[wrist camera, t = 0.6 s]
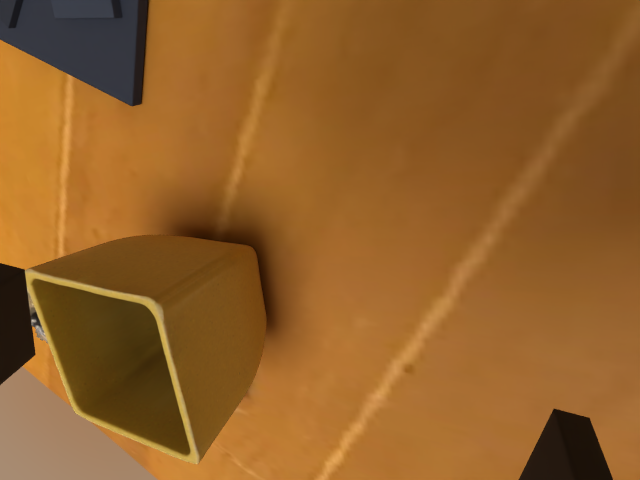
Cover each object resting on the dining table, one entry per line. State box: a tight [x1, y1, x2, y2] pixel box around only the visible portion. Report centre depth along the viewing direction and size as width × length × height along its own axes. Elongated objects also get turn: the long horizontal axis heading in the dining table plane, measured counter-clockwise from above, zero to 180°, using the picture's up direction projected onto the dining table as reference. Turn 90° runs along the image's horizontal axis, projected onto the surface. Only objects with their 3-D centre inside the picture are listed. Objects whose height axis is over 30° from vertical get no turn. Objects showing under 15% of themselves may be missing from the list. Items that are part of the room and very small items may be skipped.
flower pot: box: [25, 235, 267, 464], centre depth 26 cm, size 9×9×9 cm
